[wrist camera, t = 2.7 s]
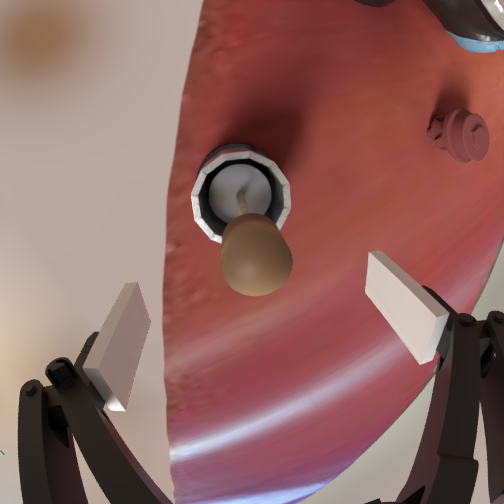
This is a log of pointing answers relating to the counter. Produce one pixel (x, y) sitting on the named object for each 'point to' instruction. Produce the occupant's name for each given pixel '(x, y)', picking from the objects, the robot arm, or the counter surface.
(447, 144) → the mechanical component
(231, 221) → the plunger
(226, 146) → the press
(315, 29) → the counter surface
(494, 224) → the counter surface
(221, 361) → the counter surface
